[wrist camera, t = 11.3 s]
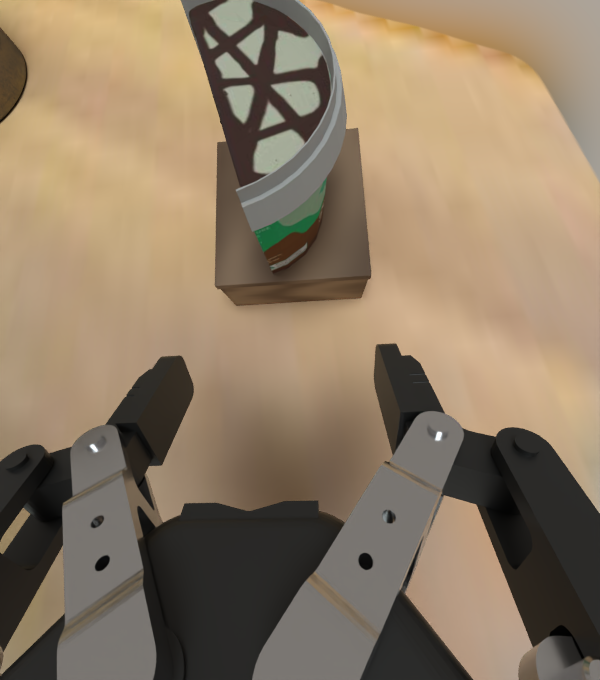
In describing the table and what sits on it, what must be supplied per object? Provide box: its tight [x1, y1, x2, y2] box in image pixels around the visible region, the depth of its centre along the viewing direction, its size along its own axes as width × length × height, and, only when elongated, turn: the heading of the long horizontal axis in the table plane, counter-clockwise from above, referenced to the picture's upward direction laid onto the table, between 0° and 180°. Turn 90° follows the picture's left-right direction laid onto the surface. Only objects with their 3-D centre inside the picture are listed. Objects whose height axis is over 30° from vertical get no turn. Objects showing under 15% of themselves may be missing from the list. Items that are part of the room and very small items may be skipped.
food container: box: [181, 0, 347, 274], centre depth 17 cm, size 12×6×10 cm, turn 17°
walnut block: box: [215, 128, 371, 306], centre depth 25 cm, size 11×12×5 cm
